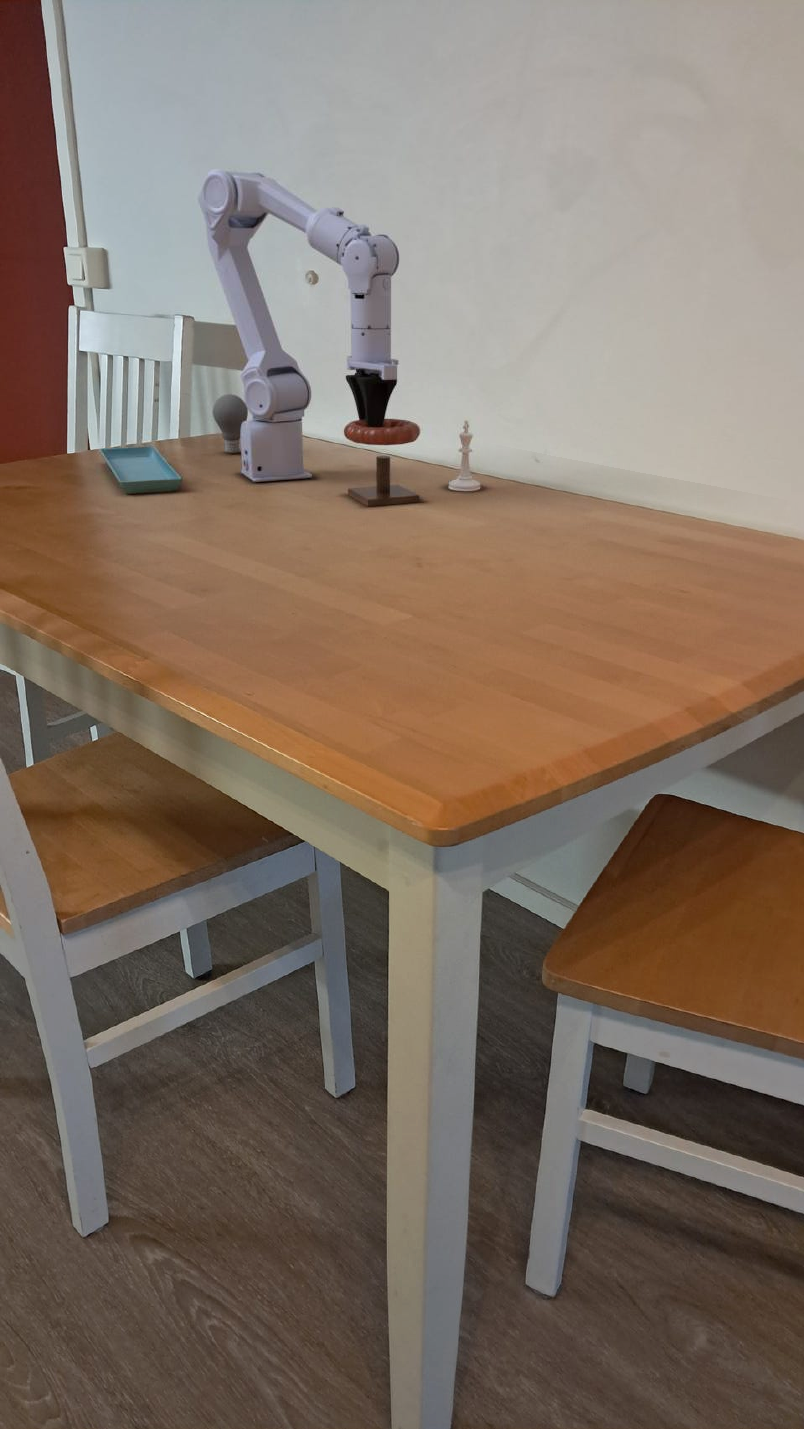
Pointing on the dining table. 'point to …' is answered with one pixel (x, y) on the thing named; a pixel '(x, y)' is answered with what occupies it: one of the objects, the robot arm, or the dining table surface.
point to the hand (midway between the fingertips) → (371, 425)
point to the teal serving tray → (141, 469)
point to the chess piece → (465, 465)
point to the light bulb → (230, 420)
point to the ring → (382, 432)
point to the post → (383, 488)
